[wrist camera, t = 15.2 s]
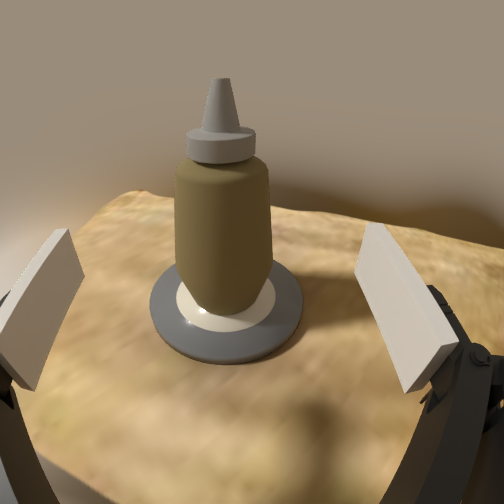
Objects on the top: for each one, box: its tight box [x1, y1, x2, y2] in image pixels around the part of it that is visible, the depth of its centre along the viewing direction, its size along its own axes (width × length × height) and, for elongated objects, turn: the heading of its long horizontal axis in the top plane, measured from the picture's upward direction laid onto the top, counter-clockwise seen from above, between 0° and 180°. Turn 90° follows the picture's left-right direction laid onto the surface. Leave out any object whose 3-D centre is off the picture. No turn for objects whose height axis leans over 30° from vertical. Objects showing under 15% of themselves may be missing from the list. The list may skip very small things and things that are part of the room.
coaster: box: [150, 260, 303, 365], centre depth 27 cm, size 14×14×1 cm
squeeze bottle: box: [174, 78, 273, 315], centre depth 22 cm, size 8×8×18 cm
